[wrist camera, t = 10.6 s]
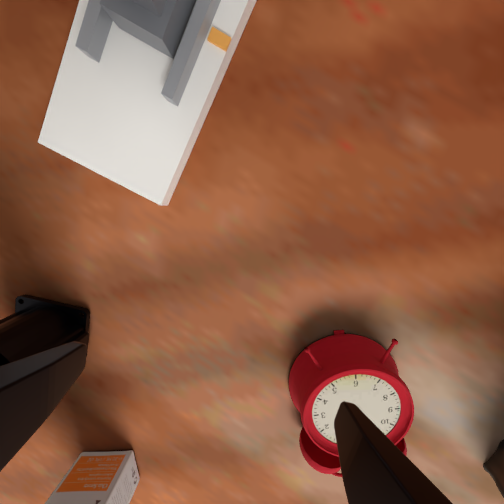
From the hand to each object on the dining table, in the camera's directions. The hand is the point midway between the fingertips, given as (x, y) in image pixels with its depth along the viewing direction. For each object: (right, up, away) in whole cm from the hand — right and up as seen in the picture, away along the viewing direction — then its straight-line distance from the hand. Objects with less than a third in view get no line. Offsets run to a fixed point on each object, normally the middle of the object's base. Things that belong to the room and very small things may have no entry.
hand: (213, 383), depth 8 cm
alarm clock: (+10, -10, +16) cm, 21 cm away
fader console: (-5, +20, +9) cm, 23 cm away
